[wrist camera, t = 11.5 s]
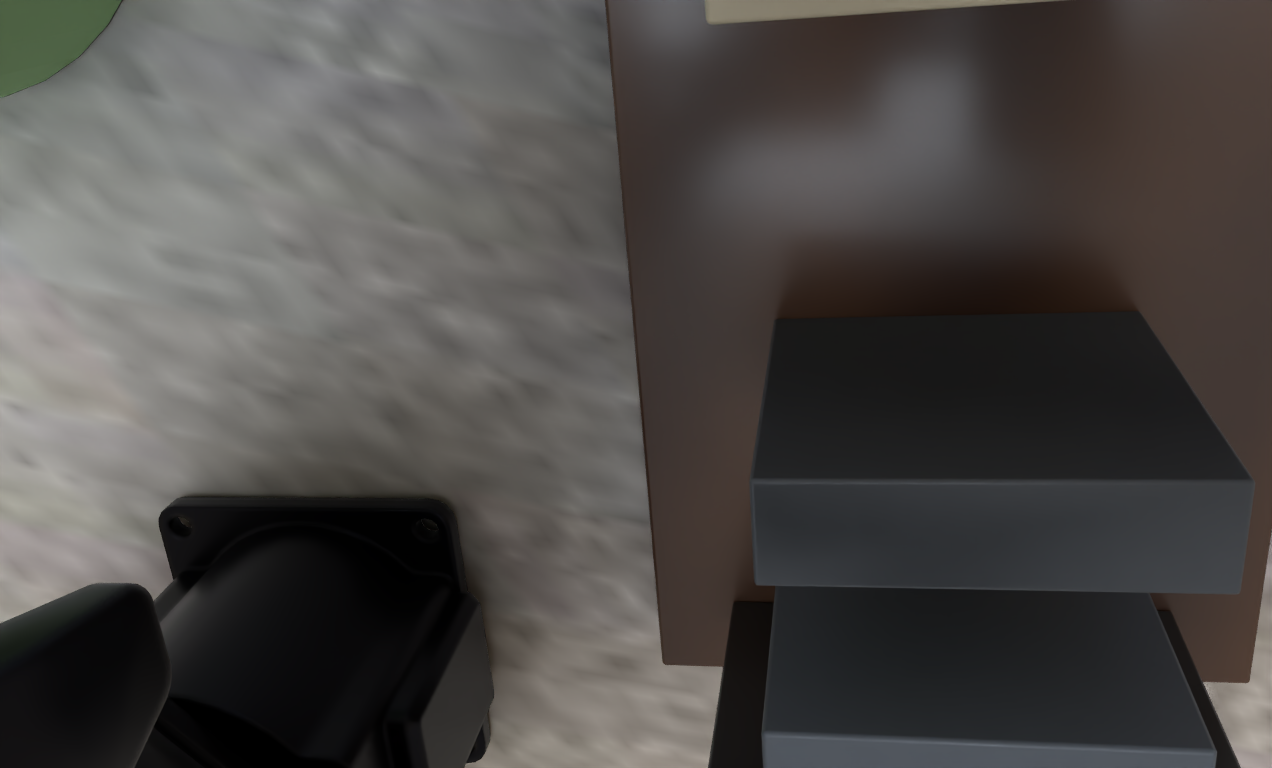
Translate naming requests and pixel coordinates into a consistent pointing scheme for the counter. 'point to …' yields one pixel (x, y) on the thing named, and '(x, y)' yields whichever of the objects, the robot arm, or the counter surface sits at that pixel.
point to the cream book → (827, 8)
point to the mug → (46, 37)
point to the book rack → (932, 247)
